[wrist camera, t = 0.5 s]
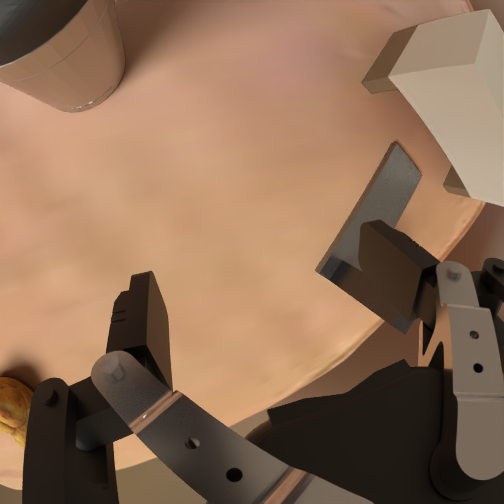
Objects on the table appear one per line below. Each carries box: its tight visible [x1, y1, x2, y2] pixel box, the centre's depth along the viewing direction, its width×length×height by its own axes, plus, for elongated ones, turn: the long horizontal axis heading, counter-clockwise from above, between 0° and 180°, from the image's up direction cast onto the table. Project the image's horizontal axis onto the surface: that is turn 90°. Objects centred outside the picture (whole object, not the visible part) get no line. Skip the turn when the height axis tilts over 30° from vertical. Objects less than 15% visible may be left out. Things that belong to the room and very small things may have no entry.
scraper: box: [315, 143, 422, 334], centre depth 32 cm, size 20×7×13 cm, turn 145°
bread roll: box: [0, 377, 34, 448], centre depth 26 cm, size 13×10×8 cm
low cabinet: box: [362, 9, 504, 207], centre depth 28 cm, size 14×24×17 cm, turn 55°
